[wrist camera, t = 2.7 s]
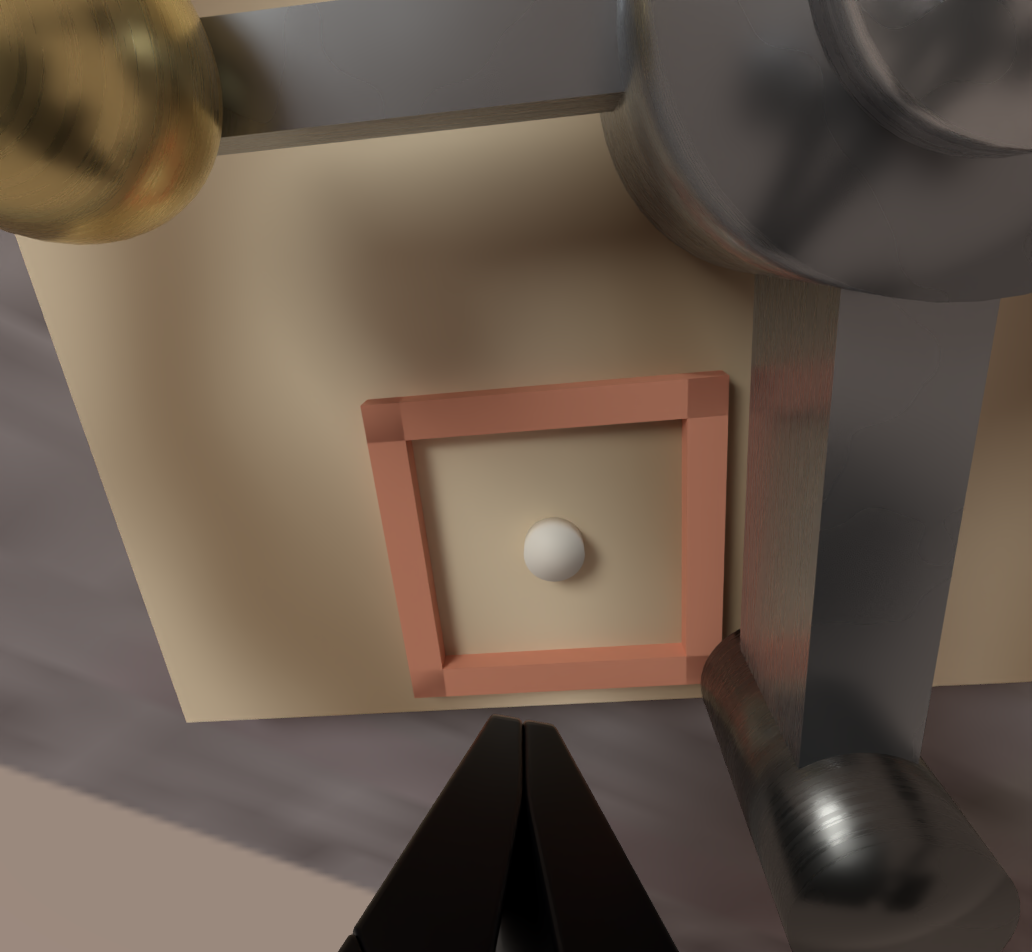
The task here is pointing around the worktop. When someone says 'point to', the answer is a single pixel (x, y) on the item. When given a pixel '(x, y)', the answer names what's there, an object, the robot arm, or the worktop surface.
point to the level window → (555, 527)
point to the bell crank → (718, 240)
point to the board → (450, 460)
